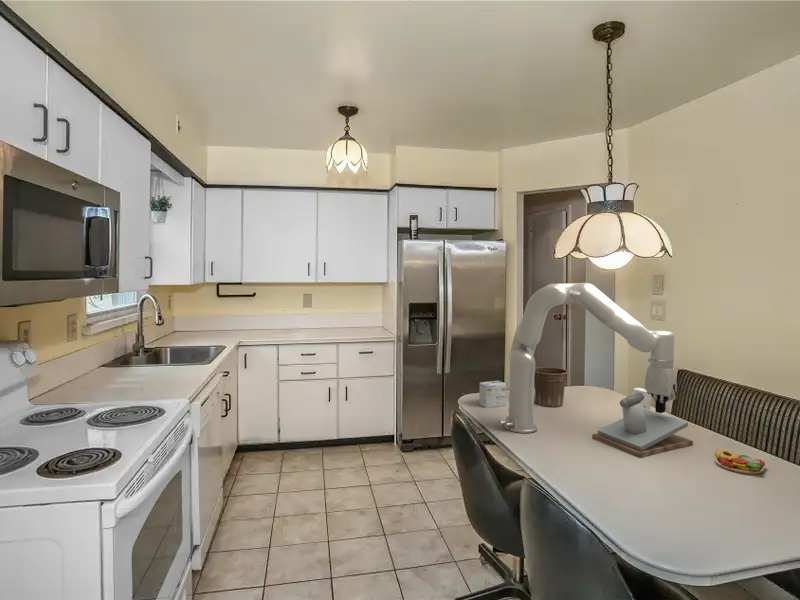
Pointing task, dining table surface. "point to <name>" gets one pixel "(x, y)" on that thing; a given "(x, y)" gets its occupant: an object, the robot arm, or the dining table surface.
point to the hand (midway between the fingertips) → (660, 412)
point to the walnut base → (661, 446)
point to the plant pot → (549, 386)
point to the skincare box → (646, 399)
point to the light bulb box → (492, 394)
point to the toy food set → (738, 462)
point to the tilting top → (641, 425)
